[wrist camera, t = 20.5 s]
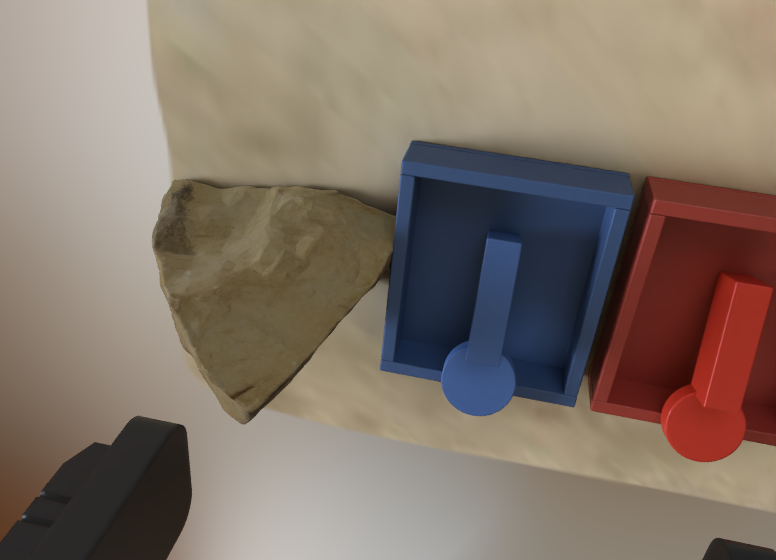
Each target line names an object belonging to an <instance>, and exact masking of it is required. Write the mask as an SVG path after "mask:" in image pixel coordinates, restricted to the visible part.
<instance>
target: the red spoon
mask: <svg viewBox="0 0 776 560" xmlns="http://www.w3.org/2000/svg"><path fill="white" fill-rule="evenodd" d="M772 293H773V287H771V286H769V285H768V284H766V283H764V282H762V281H761V280H759V279H757V278H755V277H754V276H748V275H742V274H736V273H730V272H724V271H720V273H719V276H718V280H717V284H716V288H715V292H714V296H713V300H712V304H711V308H710V311H709V315H708V319H707V323H706V327H705V331H704V335H703V339H702V343H701V347H700V351H699V355H698V359H697V363H696V367H695V371H694V374H693V378H692V382H691V384H690V385H687V386H684V387H682V388H680V389H678V390H677V391H675V392H674V393H673V394H672V395H671V396H670V397H669V398H668V399H667V401H666V402H665V404H664V406H663V409H662V412H661V426H662V429H663V432H664V434H665V436H666V438H667V439H668V441H669V443H670V445H671V446H672V447H673V448H674V450H675V451H677V452H678V453H679V454H680V455H682V456H684V457H685V458H688V459H690V460H694V461H698V462H712V461H717V460H720V459H723V458H725V457H727V456H729V455H730V454H732V453H733V452H734V451H735V450H736V449H737V448H738V447H739V445H740V444H741V443H742V441H743V439H744V436H745V432H746V418H745V414H744V412H743V410H742V408H741V406H742V403H743V399H744V395H745V392H746V388H747V384H748V381H749V377H750V373H751V370H752V366H753V362H754V359H755V355H756V351H757V348H758V344H759V341H760V337H761V333H762V330H763V326H764V322H765V319H766V315H767V311H768V308H769V304H770V300H771V297H772Z"/></svg>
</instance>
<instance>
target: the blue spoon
mask: <svg viewBox="0 0 776 560" xmlns="http://www.w3.org/2000/svg"><path fill="white" fill-rule="evenodd" d="M521 249H522V240H521V236H520V235H514V234H508V233H502V232H496V231H490V230H489V231H488V234H487V240H486V246H485V251H484V257H483V263H482V268H481V274H480V280H479V285H478V291H477V297H476V302H475V308H474V314H473V319H472V325H471V331H470V336H469V341H466V342H464V343H461V344H460V345H458V346H457V347H455V348H454V349H453V350H452V351H451V352H450V353H449V355H448V356H447V358H446V360H445V363H444V367H443V371H442V376H441V384H442V389H443V392H444V394H445V396H446V398H447V399H448V401H449V402H450V403H451V404H452V405H453V406H454V407H455V408H457V409H458V410H460V411H461V412H463V413H466V414H469V415H473V416H486V415H491V414H493V413H496V412H498V411H500V410H501V409H503V408H504V407H505V406H506V405H507V404H508V403H509V401H510V400H511V398H512V397H513V394H514V392H515V387H516V372H515V367H514V363H513V361H512V359H511V357H510V356H509V354H508V353H507V352H506V351H505V350H504V349H503V345H504V340H505V334H506V329H507V324H508V318H509V313H510V308H511V302H512V297H513V292H514V286H515V281H516V276H517V271H518V265H519V260H520V255H521Z"/></svg>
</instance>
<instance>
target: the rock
mask: <svg viewBox="0 0 776 560" xmlns="http://www.w3.org/2000/svg"><path fill="white" fill-rule="evenodd" d="M395 223H396V215H391V214H388V213H386V212H384V211H381V210H379V209H376V208H374V207H371V206H367V205H364V204H363V203H362V202H360V201H359V200H357V199H355V198H351V197H348V196H345V195H341V194H339V192H338V191H337V190H318V189H311V188H305V187H302V186H292V187H283V186H274V187H272V188H271V189H268V188H255V187H253V186H237V187H233V188H227V189H218V188H215V187H212V186H210V185H206V184H201V183H198V182H195V181H193V180H188V179H185V180H174V181H173V182H172V185H171V187H170V189H169V190H168V192H167V193H166V194H165V195H164V197H163V199H162V204H161V210H160V213H159V216H158V221H157V223H156V226H155V228H154V230H153V235H152V245H153V250H154V254H155V257H156V261H157V264H158V268H159V271H160V286H161V288H162V291H163V292H164V295H165V297H166V299H167V301H168V304H169V307H170V310H171V312H172V318H173V320H174V324H175V328H176V330H177V333H178V335H179V338H180V342H181V344H182V346H183V348H184V349H185V350H186V351H187V352H188V353H189V354H190V355H192V356H193V358H194V359H195V361H196V363H197V365H198V368H199V371H200V372H201V374H202V375H203V377H204V379H205V380H206V382H207V383H208V385H209V386H210V388H211V389H212V391H213V392H214V394H215V395H216V397H217V399H218V400H219V402H220V404H221V406H222V408H223V410H224V411H225V412H226V413H228V414H229V415H230V416H231V417H232V418H234V419H235V420H237V421H238V422H239V423H241V424H246V423H248V422H249V421H250V420H252V418H254V417H255V416H256V415H257V413H258V412H259V411H260V410H261V409H262V408H264V407H265V406H266V405H267V404H268V403H269V402H270V401H271V400H273V399H274V398H275V397H276V396H277V395H278V394H279V393H280V392H281V391H282V390H283V389H284V388H285V387H286V386H287V385H288V384H289V383H290V382H291V381H292V379H293V378H294V377H295V376H296V374H297V373H298V372H299V371H300V370H301V369H302V368H303V367H304V365H305V364H306V363H307V362H308V361H309V360H310V359H311V357H312V355H313V354H314V353H315V351H316V350H317V348H318V347H319V346H320V345H321V344H322V342H323V341H324V340H325V339H326V338H327V337H328V336H329V335H330V334H331V333H332V332H333V331H334V329H335V328H336V326H337V325H338V323H339V322H340V321H341V320H342V319H343V318H344V317H345V316H346V315H347V314H348V313H349V312H350V311H351V310H352V309H353V307H354V306H355V305H356V304H357V303H358V301H359V300H360V299H361V298H362V297H363V296H364V295H365V294H366V293H367V292H368V291H370V290H371V289H372V288H373V287H374V286H375V285H376V283H377V282H378V281H379V280H380V279H381V277H382V276H383V275H384V274H385V272H386V271H387V270H388V269H389V268H390V266H391V261H392V253H393V242H394V232H395ZM414 228H415V227H414Z"/></svg>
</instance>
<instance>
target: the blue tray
mask: <svg viewBox="0 0 776 560" xmlns="http://www.w3.org/2000/svg"><path fill="white" fill-rule="evenodd" d="M634 198H635V196H634V192H633V188H632V185H631V181H630V176H629V174H628V173H623V172H616V171H610V170H603V169H596V168H590V167H583V166H577V165H570V164H564V163H557V162H550V161H544V160H537V159H531V158H524V157H517V156H511V155H504V154H498V153H491V152H485V151H478V150H471V149H465V148H458V147H452V146H445V145H438V144H432V143H425V142H419V141H412V142H411V144H410V146H409V148H408V150H407V152H406V154H405V156H404V158H403V160H402V166H401V176H400V185H399V194H398V204H397V213H396V223H395V232H394V242H393V253H392V261H391V270H390V280H389V289H388V299H387V308H386V318H385V327H384V337H383V346H382V356H381V358H382V359H381V365H380V370H382V371H387V372H392V373H398V374H403V375H408V376H413V377H418V378H424V379H429V380H434V381H439V382H441V376H442V371H443V367H444V363H445V360H446V358H447V356H448V355H449V353H450V352H451V351H452V350H453V349H454V348H455V347H457V346H458V345H460V344H461V343H464V342H466V341H469V336H470V331H471V325H472V319H473V314H474V308H475V302H476V297H477V291H478V285H479V280H480V274H481V268H482V263H483V257H484V251H485V246H486V240H487V234H488V231H489V230H490V231H496V232H502V233H508V234H514V235H520V236H521V240H522V249H521V255H520V260H519V265H518V271H517V276H516V281H515V286H514V292H513V297H512V302H511V308H510V313H509V318H508V324H507V329H506V334H505V340H504V345H503V349H504V350H505V351H506V352H507V353H508V354H509V356H510V357H511V359H512V361H513V363H514V367H515V372H516V387H515V392H514V394H513V396H517V397H522V398H528V399H533V400H538V401H543V402H549V403H554V404H559V405H564V406H569V407H574V406H575V403H576V399H577V395H578V392H579V388H580V385H581V382H582V378H583V375H584V371H585V368H586V364H587V361H588V357H589V354H590V350H591V347H592V344H593V340H594V337H595V333H596V330H597V326H598V323H599V319H600V316H601V312H602V309H603V306H604V302H605V299H606V295H607V292H608V288H609V285H610V281H611V278H612V274H613V271H614V268H615V264H616V261H617V257H618V254H619V250H620V247H621V243H622V240H623V236H624V233H625V230H626V226H627V223H628V219H629V216H630V210H631V209H632V205H633V202H634ZM414 227H415V228H414Z"/></svg>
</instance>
